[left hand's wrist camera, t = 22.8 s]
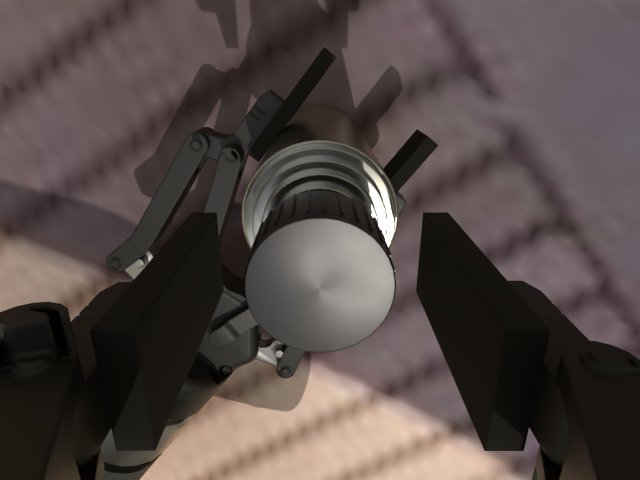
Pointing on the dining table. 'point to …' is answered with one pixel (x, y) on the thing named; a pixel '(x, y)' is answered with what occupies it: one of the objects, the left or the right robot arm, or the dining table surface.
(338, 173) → the bottle
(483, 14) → the dining table surface
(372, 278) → the cap
